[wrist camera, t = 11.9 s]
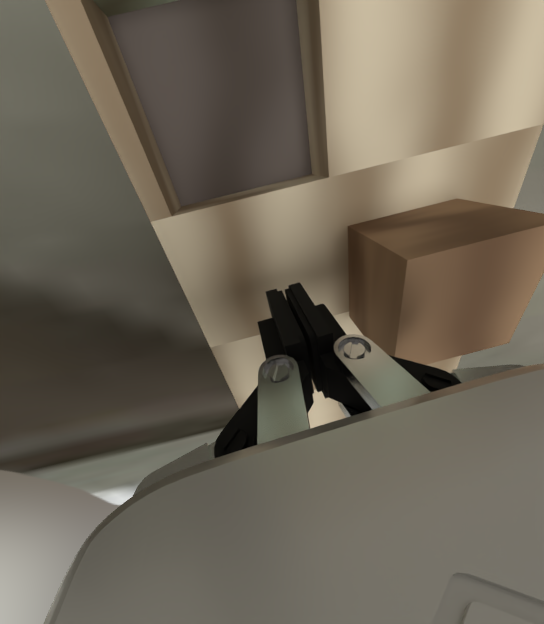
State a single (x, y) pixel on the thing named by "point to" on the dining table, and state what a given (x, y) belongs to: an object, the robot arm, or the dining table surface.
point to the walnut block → (444, 277)
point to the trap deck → (303, 135)
